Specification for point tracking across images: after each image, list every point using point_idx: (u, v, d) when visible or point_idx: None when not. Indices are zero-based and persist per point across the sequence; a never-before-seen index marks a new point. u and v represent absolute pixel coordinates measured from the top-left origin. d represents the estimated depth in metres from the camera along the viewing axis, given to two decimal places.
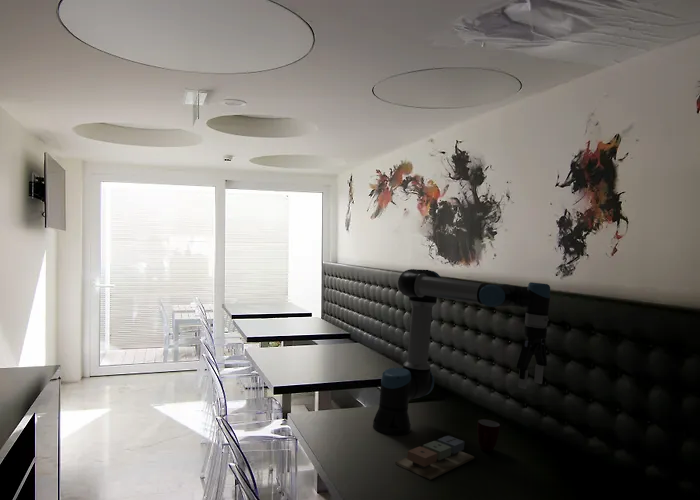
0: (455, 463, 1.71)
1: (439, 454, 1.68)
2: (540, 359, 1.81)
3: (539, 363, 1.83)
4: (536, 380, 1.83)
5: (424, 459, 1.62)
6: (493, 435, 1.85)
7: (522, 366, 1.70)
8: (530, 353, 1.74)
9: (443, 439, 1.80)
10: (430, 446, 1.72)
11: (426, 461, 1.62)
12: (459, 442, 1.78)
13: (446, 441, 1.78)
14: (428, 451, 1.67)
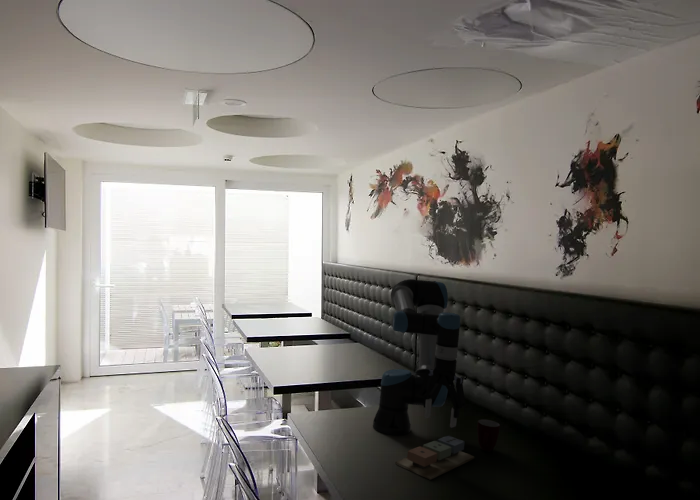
0: (455, 463, 1.71)
1: (439, 454, 1.68)
2: None
3: None
4: None
5: (424, 459, 1.62)
6: (493, 435, 1.85)
7: None
8: None
9: (443, 439, 1.80)
10: (430, 446, 1.72)
11: (426, 461, 1.62)
12: (459, 442, 1.78)
13: (446, 441, 1.78)
14: (428, 451, 1.67)
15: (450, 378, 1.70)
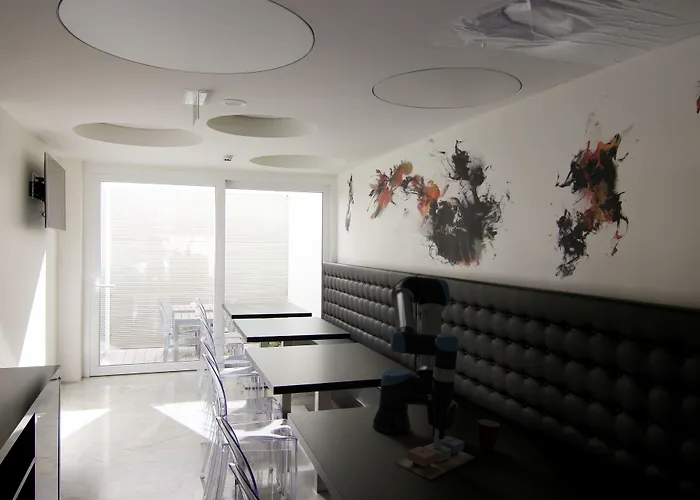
0: (455, 463, 1.71)
1: (439, 456, 1.68)
2: None
3: None
4: None
5: (424, 459, 1.62)
6: (493, 435, 1.85)
7: None
8: None
9: (443, 439, 1.80)
10: (430, 448, 1.72)
11: (426, 461, 1.62)
12: (459, 442, 1.78)
13: (446, 441, 1.78)
14: (428, 451, 1.67)
15: (447, 400, 1.70)
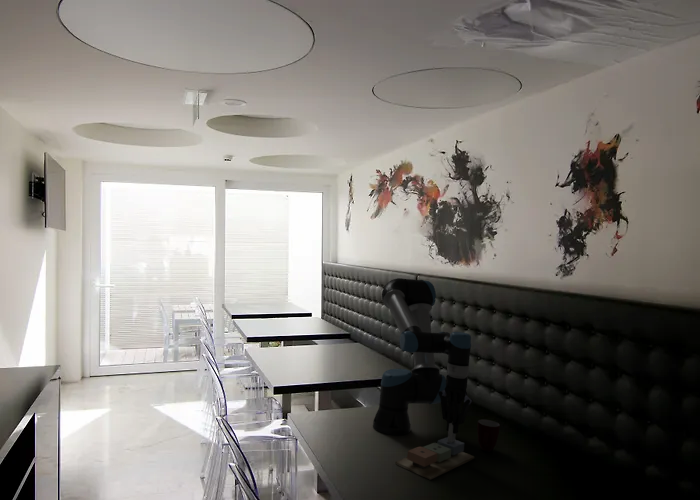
0: (455, 463, 1.71)
1: (439, 456, 1.68)
2: None
3: None
4: None
5: (424, 459, 1.62)
6: (493, 435, 1.85)
7: None
8: None
9: (443, 440, 1.80)
10: (430, 448, 1.72)
11: (426, 461, 1.62)
12: (459, 443, 1.78)
13: (446, 442, 1.78)
14: (428, 451, 1.67)
15: (461, 395, 1.77)
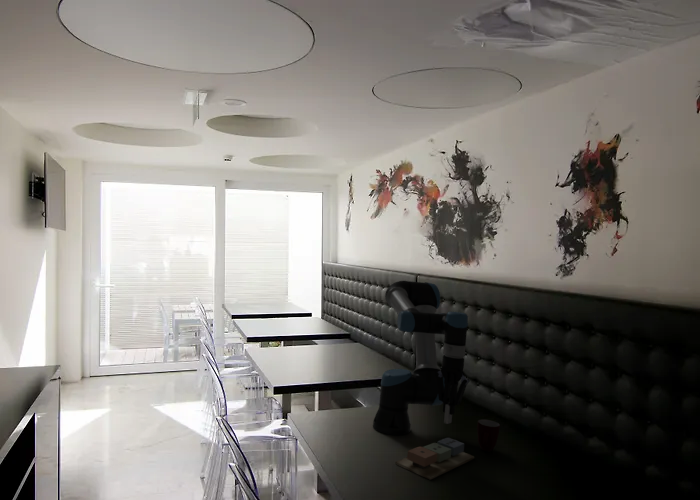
0: (455, 463, 1.71)
1: (439, 456, 1.68)
2: None
3: None
4: None
5: (424, 459, 1.62)
6: (493, 435, 1.85)
7: None
8: None
9: (443, 441, 1.80)
10: (430, 448, 1.72)
11: (426, 461, 1.62)
12: (459, 444, 1.78)
13: (446, 443, 1.78)
14: (428, 451, 1.67)
15: (458, 376, 1.74)
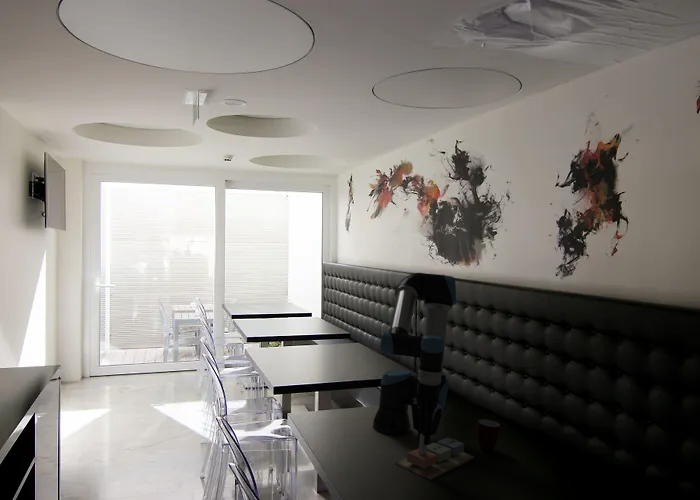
0: (455, 463, 1.71)
1: (439, 456, 1.68)
2: None
3: None
4: None
5: (424, 461, 1.62)
6: (493, 435, 1.85)
7: None
8: None
9: (443, 441, 1.80)
10: (430, 448, 1.72)
11: (426, 463, 1.62)
12: (459, 444, 1.78)
13: (446, 443, 1.78)
14: (428, 453, 1.67)
15: (432, 404, 1.64)
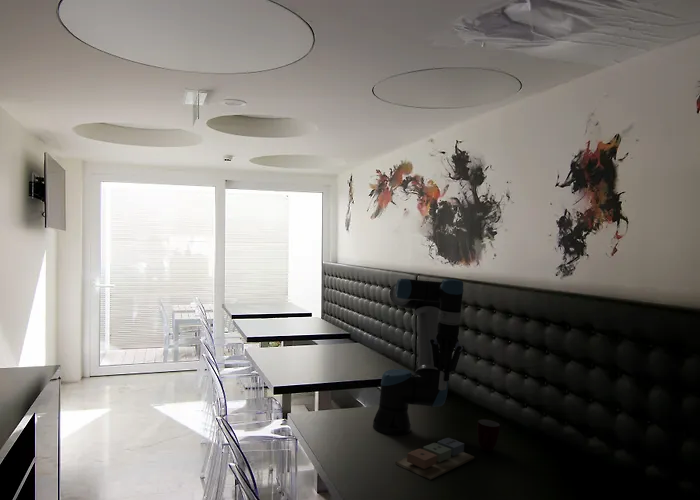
0: (455, 463, 1.71)
1: (439, 456, 1.68)
2: None
3: None
4: None
5: (424, 461, 1.62)
6: (493, 435, 1.85)
7: None
8: None
9: (443, 441, 1.80)
10: (430, 448, 1.72)
11: (426, 463, 1.62)
12: (459, 444, 1.78)
13: (446, 443, 1.78)
14: (428, 454, 1.67)
15: (452, 342, 1.73)
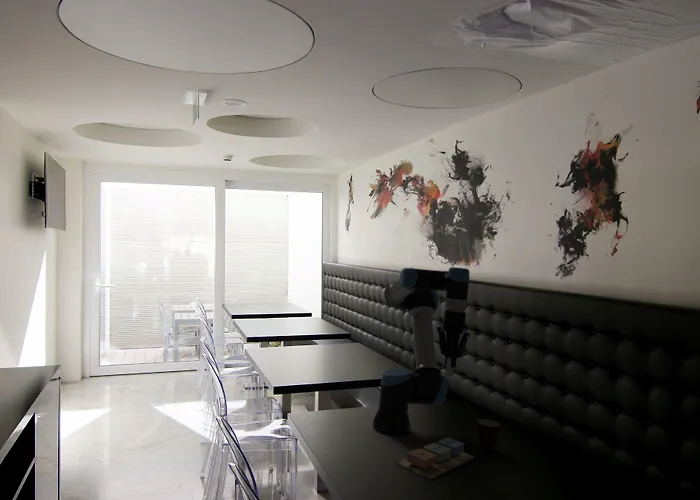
0: (455, 463, 1.71)
1: (439, 456, 1.68)
2: None
3: None
4: None
5: (424, 461, 1.62)
6: (493, 435, 1.85)
7: None
8: None
9: (443, 441, 1.80)
10: (430, 448, 1.72)
11: (426, 463, 1.62)
12: (459, 444, 1.78)
13: (446, 443, 1.78)
14: (428, 454, 1.67)
15: (459, 329, 1.77)
